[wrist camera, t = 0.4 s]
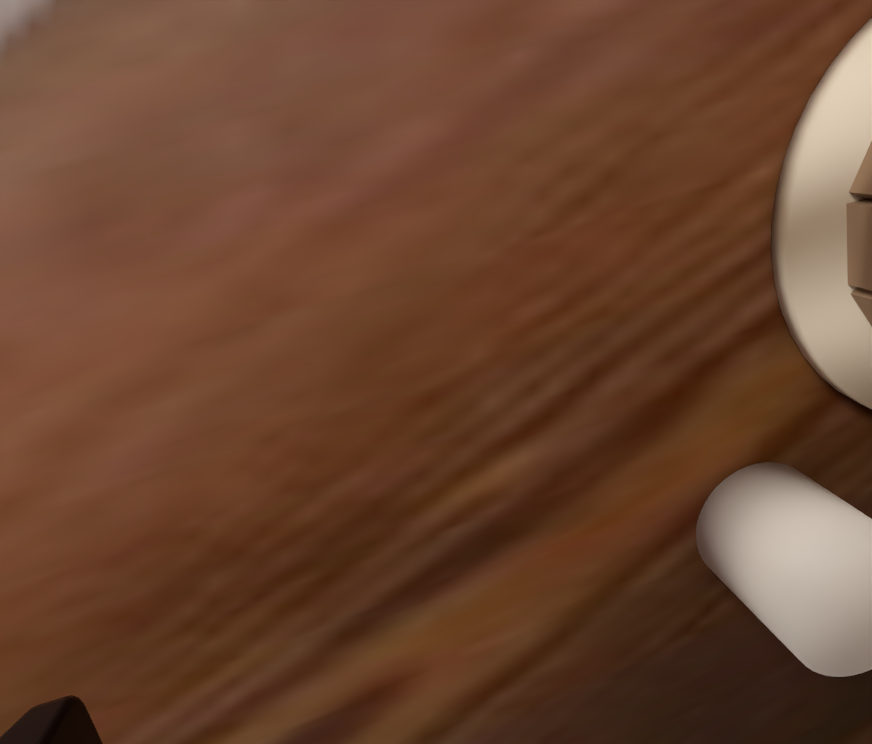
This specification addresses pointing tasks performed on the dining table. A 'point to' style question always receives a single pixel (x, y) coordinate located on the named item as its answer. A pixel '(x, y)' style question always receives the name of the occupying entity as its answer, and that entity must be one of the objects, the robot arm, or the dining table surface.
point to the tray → (830, 225)
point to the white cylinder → (794, 563)
